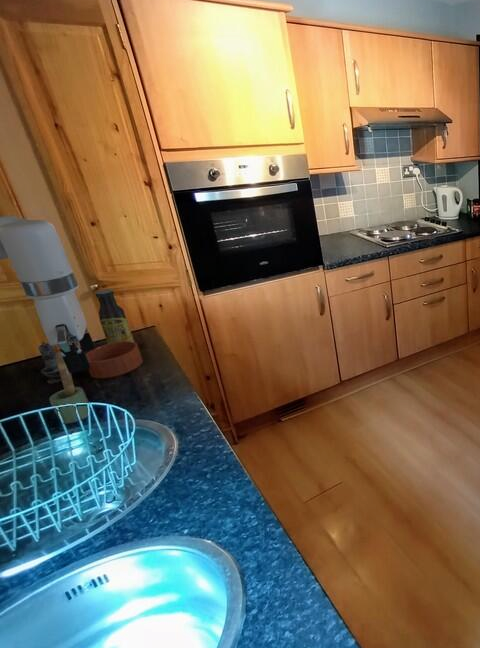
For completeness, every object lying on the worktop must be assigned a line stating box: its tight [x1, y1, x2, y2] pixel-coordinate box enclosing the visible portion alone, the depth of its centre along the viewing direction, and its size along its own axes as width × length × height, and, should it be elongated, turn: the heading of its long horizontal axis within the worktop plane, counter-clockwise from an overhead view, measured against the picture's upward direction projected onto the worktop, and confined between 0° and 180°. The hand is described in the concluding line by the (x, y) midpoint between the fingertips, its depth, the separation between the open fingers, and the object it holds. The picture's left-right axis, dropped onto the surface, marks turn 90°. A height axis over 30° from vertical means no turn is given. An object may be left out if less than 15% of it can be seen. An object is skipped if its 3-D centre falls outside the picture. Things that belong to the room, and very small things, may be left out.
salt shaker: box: [38, 341, 74, 385], centre depth 126 cm, size 6×6×12 cm
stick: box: [55, 350, 76, 398], centre depth 110 cm, size 2×2×18 cm
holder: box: [48, 386, 90, 424], centre depth 111 cm, size 6×6×7 cm
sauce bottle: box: [95, 288, 135, 344], centre depth 140 cm, size 7×6×20 cm
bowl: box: [85, 341, 144, 379], centre depth 132 cm, size 12×12×6 cm
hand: (83, 360), depth 95 cm, fingers open, 9 cm apart
